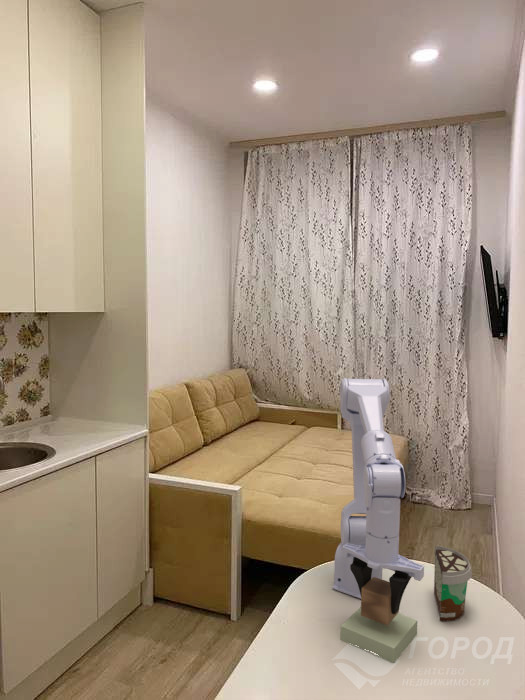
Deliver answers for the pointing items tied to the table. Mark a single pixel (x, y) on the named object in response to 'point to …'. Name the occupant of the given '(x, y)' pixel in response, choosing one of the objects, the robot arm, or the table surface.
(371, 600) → the walnut cube
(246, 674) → the table surface
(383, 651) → the sage base block
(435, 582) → the food container
